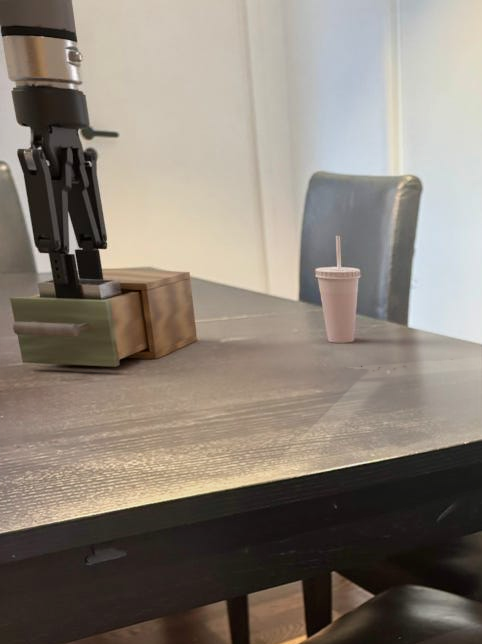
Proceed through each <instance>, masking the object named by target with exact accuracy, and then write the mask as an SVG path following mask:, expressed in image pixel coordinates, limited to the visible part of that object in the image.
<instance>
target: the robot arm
mask: <svg viewBox="0 0 482 644" xmlns="http://www.w3.org/2000/svg"><path fill="white" fill-rule="evenodd" d="M0 35H1V40H2V45H3V53H4V58H5V64H6V70H7V76H8V79H9V80H10V81H11V82H12V83H13V82H14V83H15V86H14V87H12V90H11V97H12V98H11V99H12V102H13V103H12V104H13V110H14V114H15V120H16V123H17V124H18V125H19V126H21V127H23V128H24V127H26V128H29V130H30V139H29V140H30V143H29V145H30V146H29V147H28V148H17V151H16V155H17V159H18V162H19V164H20V168H21V171H22V175H23V179H24V180H23V181H24V186H25V192H26V198H27V203H28V204H27V205H28V211H29V217H30V224H31V229H32V236H33V237H32V238H33V243H34V246H35V248H36V249H37V252H38V253H39V254H48V258H49V263H50V269H51V276H52V279H53V282H54V287H55V293H56V298H68V299H82V298H81V292H80V285H79V279H103V273H102V269H103V266H102V260H101V254H100V250H107V249H108V235H107V229H106V223H105V216H104V210H103V203H102V198H101V192H100V186H99V178H98V172H97V171H98V165H97V161H98V159H97V154H96V153H95V152H94V151H86V150H84V147H83V144H82V141H81V138H80V135H79V130H87V129H88V128H89V127H90V126H91V125H90V123H91V122H90V116H89V108H88V103H87V96H86V94H84V91H82V90H79V86H82V84H83V83H84V79H83V71H82V63H81V62H83V60H84V59H83V54H82V53H81V52H80V51H79V45H78V36H77V29H76V21H75V13H74V7H73V0H0ZM69 220H70V222H69ZM69 223H71V226H72V230H73V234H74V237H75V239H76V244H77V246H78V249H74V253H70V227H69V225H70V224H69ZM78 274H79V279H78ZM103 280H104V279H103Z"/></svg>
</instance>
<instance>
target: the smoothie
mask: <svg viewBox="0 0 482 644" xmlns="http://www.w3.org/2000/svg"><path fill="white" fill-rule="evenodd" d="M335 248H336V266H326V267H325V266H324V267H317V268H315V270H314V271H315V275H314V276H315V277H316V278H317V282H318V288H319V289H318V290H319V293H320V300H321V305H322V311H323V318H324V323H325V324H324V325H325V330H326V335H327V342H330V343H335V344H336V343H337V344H346V343H347V344H348V343H352V342H354V341H355V330H356V319H357V318H356V317H357V304H358V293H359V292H358V291H359V280H360V278H361V277H362V275H361V269H360V268H356V267H347V266H346V267H345V266H342V254H341V253H342V252H341V236H340V235H335Z"/></svg>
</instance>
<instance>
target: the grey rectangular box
mask: <svg viewBox="0 0 482 644" xmlns="http://www.w3.org/2000/svg"><path fill="white" fill-rule="evenodd" d="M51 279H52V280H50V279H47V280H43V281H37V288H38V295H39V294H40V297H42V298H56V293H55V287H54V282H53V278H51ZM79 285H80V292H81V298H82V299H93V300H105V299H109V298H113V297H116V296H120V295H122V294H121V287H120V280H103V279H79Z"/></svg>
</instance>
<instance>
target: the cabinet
mask: <svg viewBox="0 0 482 644" xmlns="http://www.w3.org/2000/svg"><path fill="white" fill-rule="evenodd" d="M102 273H103V279H104V280H120V287H121V289H128V290H141V292H142V300H143V307H144V314H145V321H146V329H147V336H148V343H149V347H148V348H146V349H143V350H141V351H139V352H136V353H134V354H132V355H129V356H127V357H124V358H123V359H126V358H127V359H128V358H129V359H146V360H148V359H149V360H157V359H159V358H162V357H164V356H166V355H168V354H171V353H172V352H175V351H178V350H179V349H182V348H184V347H186V346H189V345H190V344H192V343H195V342H197V341H198V334H197V326H196V318H195V317H196V316H195V309H194V300H193V292H192V290H193V289H192V284H191V283H192V282H191V273H190V271H178V270H177V271H176V270H175V271H172V270H171V271H170V270H146V269H124V268H123V269H121V268H102ZM52 279H53V278H50V279H49V280H52ZM78 279H79V274H78Z"/></svg>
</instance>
